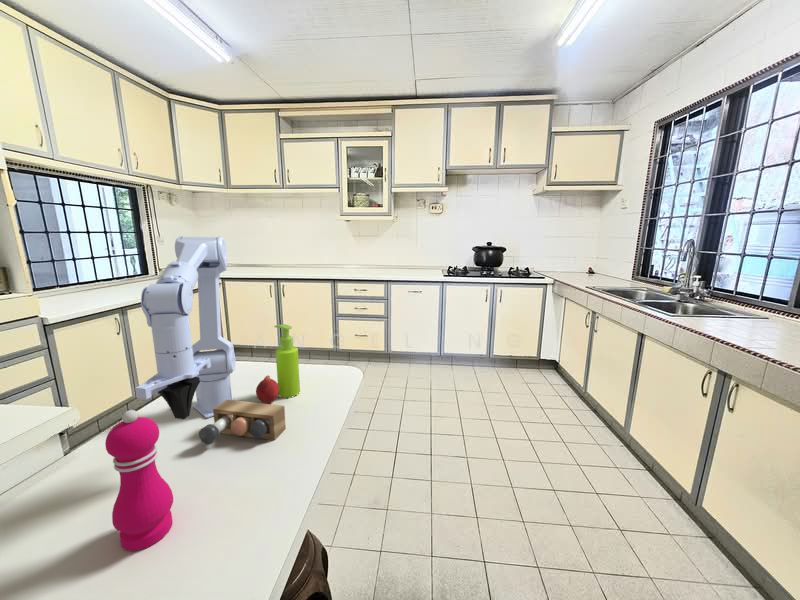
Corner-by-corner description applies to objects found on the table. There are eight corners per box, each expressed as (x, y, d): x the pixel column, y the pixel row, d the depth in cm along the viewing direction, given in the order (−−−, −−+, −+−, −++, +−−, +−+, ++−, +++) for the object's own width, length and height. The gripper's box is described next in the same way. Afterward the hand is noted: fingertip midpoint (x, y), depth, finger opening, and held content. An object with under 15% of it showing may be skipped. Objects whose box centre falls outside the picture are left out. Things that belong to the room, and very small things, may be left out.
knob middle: (231, 434, 73) (229, 419, 73) (249, 419, 79) (247, 405, 79) (246, 436, 73) (244, 421, 72) (262, 421, 79) (261, 407, 78)
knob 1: (199, 443, 70) (197, 427, 70) (220, 426, 76) (219, 412, 76) (214, 445, 70) (212, 429, 69) (234, 428, 76) (233, 414, 75)
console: (215, 432, 76) (213, 408, 75) (228, 421, 81) (226, 399, 80) (275, 440, 74) (273, 415, 73) (285, 428, 78) (284, 405, 77)
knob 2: (249, 437, 73) (248, 421, 72) (266, 421, 79) (265, 407, 78) (264, 438, 72) (263, 423, 71) (280, 423, 78) (279, 409, 77)
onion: (272, 410, 86) (270, 381, 85) (252, 408, 87) (249, 379, 86) (284, 399, 92) (282, 372, 90) (265, 397, 93) (263, 370, 92)
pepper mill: (138, 514, 54) (120, 399, 50) (186, 511, 54) (171, 397, 51) (103, 556, 47) (79, 426, 43) (158, 553, 47) (139, 423, 44)
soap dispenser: (289, 386, 101) (285, 321, 97) (304, 392, 97) (300, 325, 93) (272, 393, 96) (267, 325, 92) (286, 400, 92) (282, 329, 88)
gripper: (157, 364, 53) (167, 441, 56) (221, 338, 67) (227, 400, 70) (120, 361, 54) (132, 436, 57) (190, 336, 68) (197, 397, 71)
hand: (182, 416), depth 63 cm, fingers closed
